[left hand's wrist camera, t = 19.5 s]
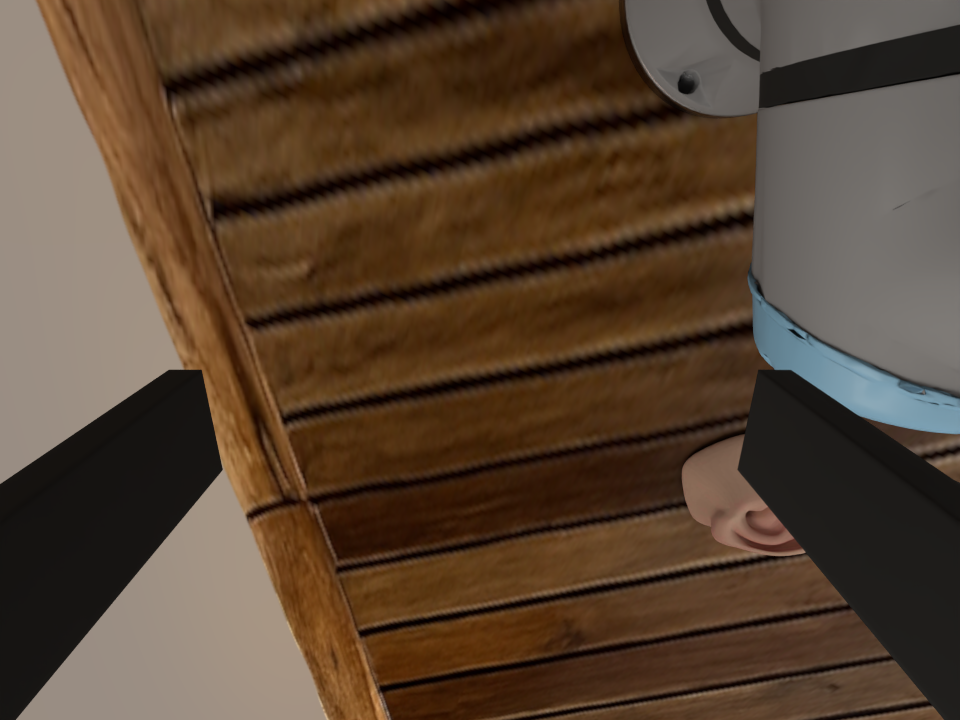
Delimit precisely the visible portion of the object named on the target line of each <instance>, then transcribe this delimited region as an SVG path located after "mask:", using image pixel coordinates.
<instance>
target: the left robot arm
mask: <svg viewBox="0 0 960 720" xmlns="http://www.w3.org/2000/svg"><path fill="white" fill-rule="evenodd" d="M619 11H620V21H621V27H622V33H623V37H624V41H625V44H626V48H627V50H628V53H629V55H630V58H631V60H632V62H633V64H634V66H635V68H636V70H637V71H638V73H639V75H640V76H641V78H642V79H643V80H644V82H645V83H646V84H647V85H648V87H649V88H650V89H651V90H652V91H653V92H654V93H655V94H656V95H657V96H659V97H660V98H661V99H662V100H664V101H665V102H666V103H668V104H670V105H671V106H673V107H675V108H677V109H679V110H681V111H683V112H686V113H689V114H692V115H695V116H700V117H706V118H731V117H738V116H745V115H750V114H754V113H758V116H757V150H756V184H755V207H754V228H753V248H752V262H751V265H750V269H749V271H748V284H749V287H750V290H751V293H752V295H753V333H754V339H755V343H756V345H757V348H758V350H759V352H760V354H761V356H762V357H763V358H764V359H765V360H766V361H767V362H768V363H769V364H770V365H771V366H772V367H774V369H775V370H758V374H757V379H756V384H755V389H754V393H753V398H752V403H751V407H750V412H749V417H748V422H747V426H746V431H745V436H744V441H743V445H742V450H741V455H740V459H739V464H738V469H737V470H738V471H739V472H740V474H741V475H742V476H743V477H744V478H745V480H746V481H747V482H748V483H749V485H750V486H751V487H752V488H753V489H754V491H755V492H756V493H757V494H758V495H759V497H760V498H761V499H762V500H763V501H764V503H765V504H766V505H767V506H768V507H769V509H770V510H771V511H772V512H773V514H774V515H775V516H776V517H777V518H778V520H779V521H780V522H781V523H782V524H783V526H784V527H785V528H786V529H787V530H788V532H789V533H790V534H791V535H792V536H793V538H794V539H795V540H796V541H797V542H798V544H799V545H800V546H801V547H802V549H803V550H804V551H805V552H806V553H807V555H808V556H809V557H810V558H811V559H812V561H813V562H814V563H815V564H816V565H817V567H818V568H819V569H820V570H821V571H822V573H823V574H824V575H825V576H826V577H827V579H828V580H829V581H830V582H831V584H832V585H833V586H834V587H835V588H836V590H837V591H838V592H839V593H840V594H841V596H842V597H843V598H844V599H845V600H846V602H847V603H848V604H849V605H850V606H851V608H852V609H853V610H854V611H855V612H856V614H857V615H858V616H859V617H860V619H861V620H862V621H863V622H864V623H865V625H866V626H867V627H868V628H869V629H870V631H871V632H872V633H873V634H874V635H875V637H876V638H877V639H878V640H879V641H880V643H881V644H882V645H883V646H884V648H885V649H886V650H887V651H888V652H889V654H890V655H891V656H892V657H893V658H894V660H895V661H896V662H897V663H898V664H899V666H900V667H901V668H902V669H903V670H904V672H905V673H906V674H907V675H908V676H909V678H910V679H911V680H912V681H913V683H914V684H915V685H916V686H917V687H918V689H919V690H920V691H921V692H922V693H923V695H924V696H925V697H926V698H927V699H928V701H929V702H930V703H931V704H932V705H933V707H934V708H935V709H936V710H937V711H938V713H939V714H940V715H941V716H942V718H943V719H944V720H960V483H959V482H957V481H955V480H953V479H951V478H950V477H948V476H947V475H946V474H944V473H943V472H941V471H940V470H938V469H937V468H935V467H934V466H932V465H931V464H929V463H928V462H926V461H925V460H923V459H922V458H920V457H919V456H917V455H916V454H915V453H913V452H912V451H910V450H909V449H907V448H906V447H904V446H903V445H901V444H900V443H898V442H897V441H895V440H894V439H892V438H891V437H889V436H888V435H886V434H885V433H884V432H882V431H881V430H879V429H878V428H876V427H875V426H873V425H872V424H870V423H869V422H867V421H866V420H864V419H863V418H861V417H860V416H862V417H865V418H868V419H871V420H875V421H879V422H883V423H887V424H891V425H895V426H900V427H905V428H910V429H916V430H922V431H929V432H937V433H949V434H960V0H619ZM957 74H958V75H957ZM940 77H941V78H940ZM934 78H935V79H934ZM928 79H929V80H928ZM922 80H923V81H922ZM916 81H918V82H916ZM911 82H912V83H911ZM905 83H906V84H905ZM888 86H889V87H888ZM882 87H883V88H882ZM876 88H877V89H876ZM870 89H872V90H870ZM864 90H866V91H864ZM859 91H860V92H859ZM853 92H854V93H853ZM848 93H849V94H848ZM842 94H843V95H842ZM836 95H837V96H836ZM830 96H832V97H830ZM824 97H826V98H824ZM819 98H820V99H819ZM813 99H814V100H813ZM806 100H809V101H806ZM800 101H803V102H800ZM795 102H797V103H795ZM789 103H792V104H789ZM782 104H786V105H782ZM778 105H781V106H778ZM858 415H859V416H858ZM222 470H223V469H222V464H221V459H220V455H219V450H218V445H217V441H216V436H215V431H214V426H213V422H212V417H211V412H210V407H209V403H208V398H207V393H206V389H205V384H204V379H203V374H202V370H168V371H167V372H165V373H164V374H162V375H161V376H159V377H158V378H156V379H155V380H153V381H152V382H150V383H149V384H147V385H146V386H144V387H143V388H142V389H140V390H139V391H137V392H136V393H134V394H133V395H131V396H130V397H128V398H127V399H125V400H124V401H122V402H121V403H119V404H118V405H116V406H115V407H113V408H112V409H110V410H109V411H108V412H106V413H105V414H103V415H102V416H100V417H99V418H97V419H96V420H94V421H93V422H91V423H90V424H88V425H87V426H85V427H84V428H82V429H81V430H79V431H78V432H76V433H75V434H74V435H72V436H71V437H69V438H68V439H66V440H65V441H63V442H62V443H60V444H59V445H57V446H56V447H54V448H53V449H51V450H50V451H48V452H47V453H45V454H44V455H43V456H41V457H40V458H38V459H37V460H35V461H34V462H32V463H31V464H29V465H28V466H26V467H25V468H23V469H22V470H20V471H19V472H17V473H16V474H14V475H13V476H12V477H10V478H9V479H7V480H6V481H4V482H3V483H1V484H0V720H16V719H17V718H18V716H19V715H20V714H21V713H22V711H23V710H24V709H25V708H26V707H27V705H28V704H29V703H30V702H31V701H32V699H33V698H34V697H35V696H36V695H37V693H38V692H39V691H40V690H41V689H42V687H43V686H44V685H45V684H46V682H47V681H48V680H49V679H50V678H51V676H52V675H53V674H54V673H55V672H56V670H57V669H58V668H59V667H60V666H61V664H62V663H63V662H64V661H65V660H66V658H67V657H68V656H69V655H70V654H71V652H72V651H73V650H74V649H75V647H76V646H77V645H78V644H79V643H80V641H81V640H82V639H83V638H84V637H85V635H86V634H87V633H88V632H89V631H90V629H91V628H92V627H93V626H94V625H95V623H96V622H97V621H98V620H99V618H100V617H101V616H102V615H103V614H104V612H105V611H106V610H107V609H108V608H109V606H110V605H111V604H112V603H113V602H114V600H115V599H116V598H117V597H118V596H119V594H120V593H121V592H122V591H123V589H124V588H125V587H126V586H127V585H128V583H129V582H130V581H131V580H132V579H133V577H134V576H135V575H136V574H137V573H138V571H139V570H140V569H141V568H142V567H143V565H144V564H145V563H146V562H147V561H148V559H149V558H150V557H151V556H152V555H153V553H154V552H155V551H156V550H157V549H158V547H159V546H160V545H161V544H162V542H163V541H164V540H165V539H166V538H167V536H168V535H169V534H170V533H171V532H172V530H173V529H174V528H175V527H176V526H177V524H178V523H179V522H180V521H181V520H182V518H183V517H184V516H185V515H186V514H187V512H188V511H189V510H190V509H191V507H192V506H193V505H194V504H195V503H196V501H197V500H198V499H199V498H200V497H201V495H202V494H203V493H204V492H205V491H206V489H207V488H208V487H209V486H210V484H211V483H212V482H213V481H214V480H215V478H216V477H217V476H218V475H219V474H220V472H221V471H222Z"/></svg>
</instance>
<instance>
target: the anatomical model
mask: <svg viewBox="0 0 960 720" xmlns="http://www.w3.org/2000/svg"><path fill="white" fill-rule="evenodd" d="M744 436H745V434H743V435H738V436H735V437H731V438H728V439H726V440H723V441H720V442H718V443H715V444H713V445H711V446H709V447H706V448H704V449H702V450H701V451H699V452H697V453H695V454H694V455H692V456H691V457H690V458H689V459H688V460H687V461H686V462H685V464H684V466H683V469H682V484H683V490H684V496H685V500H686V503H687V506H688V508H689V511H690V513H691V515H692V516H693V518H694V519H695V520H696V521H698V522H700V523H702V524H704V525H707V526H710V527H711V532H712V535H713V537H714V538H715V539H716V540H717V541H718V542H720V543H722V544H725V545H729V546H732V547H736V548H740V549H743V550H747V551H751V552H755V553H759V554H764V555H772V556H788V555H795V554H801V553H806V552H805V551H804V550H803V549H802V547H801V546H800V545H799V544H798V542H797V541H796V540H795V539H794V538H793V536H792V535H791V534H790V533H789V532H788V530H787V529H786V528H785V527H784V526H783V524H782V523H781V522H780V521H779V520H778V518H777V517H776V516H775V515H774V514H773V512H772V511H771V510H770V509H769V507H768V506H767V505H766V504H765V503H764V501H763V500H762V499H761V498H760V497H759V495H758V494H757V493H756V492H755V491H754V489H753V488H752V487H751V486H750V485H749V483H748V482H747V481H746V480H745V478H744V477H743V476H742V475H741V474H740V472H739V471H738V470H737V469H738V464H739V459H740V455H741V450H742V445H743V441H744Z"/></svg>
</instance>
